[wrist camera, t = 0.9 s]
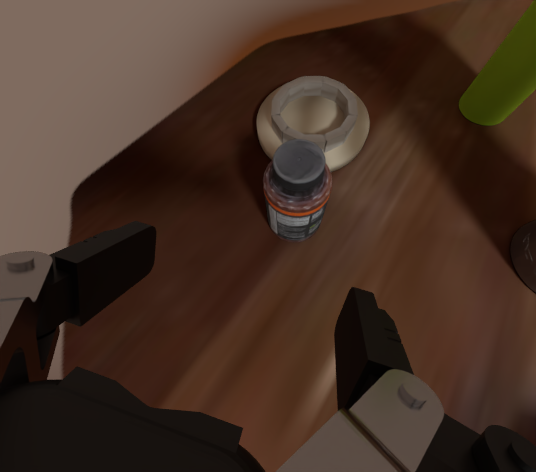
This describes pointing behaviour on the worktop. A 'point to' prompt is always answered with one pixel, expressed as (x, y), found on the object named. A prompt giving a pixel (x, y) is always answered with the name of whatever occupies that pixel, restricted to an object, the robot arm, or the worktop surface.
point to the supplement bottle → (296, 189)
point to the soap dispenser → (504, 76)
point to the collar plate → (315, 119)
